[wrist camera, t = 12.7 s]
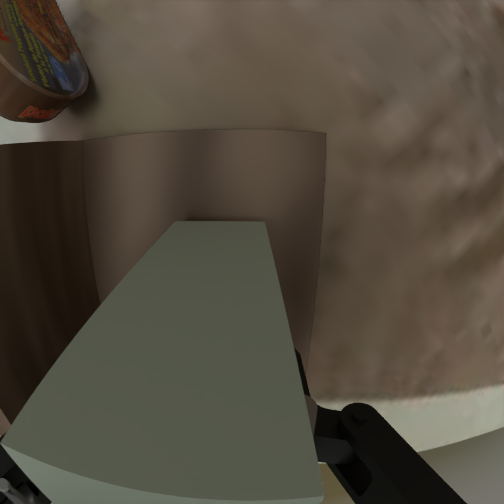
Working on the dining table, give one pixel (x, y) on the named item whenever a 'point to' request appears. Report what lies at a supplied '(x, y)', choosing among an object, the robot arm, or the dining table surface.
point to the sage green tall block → (177, 385)
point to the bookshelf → (140, 227)
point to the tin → (37, 62)
